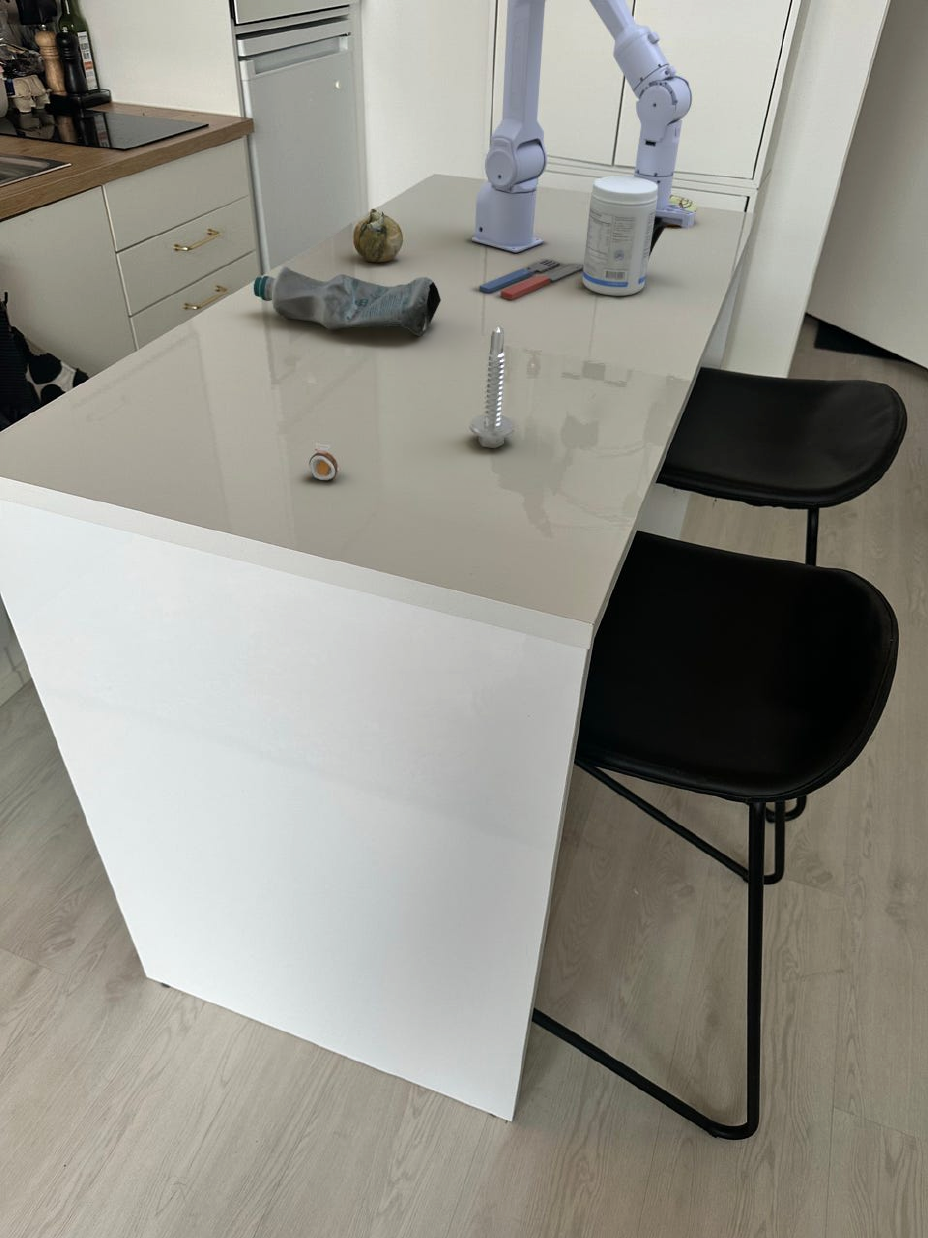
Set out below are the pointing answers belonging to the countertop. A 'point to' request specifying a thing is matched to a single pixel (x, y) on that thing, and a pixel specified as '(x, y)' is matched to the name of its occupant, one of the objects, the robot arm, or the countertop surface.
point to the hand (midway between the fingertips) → (639, 266)
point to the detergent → (350, 301)
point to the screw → (493, 398)
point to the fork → (517, 276)
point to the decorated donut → (682, 204)
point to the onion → (377, 237)
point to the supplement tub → (619, 234)
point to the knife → (538, 282)
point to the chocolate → (323, 464)
